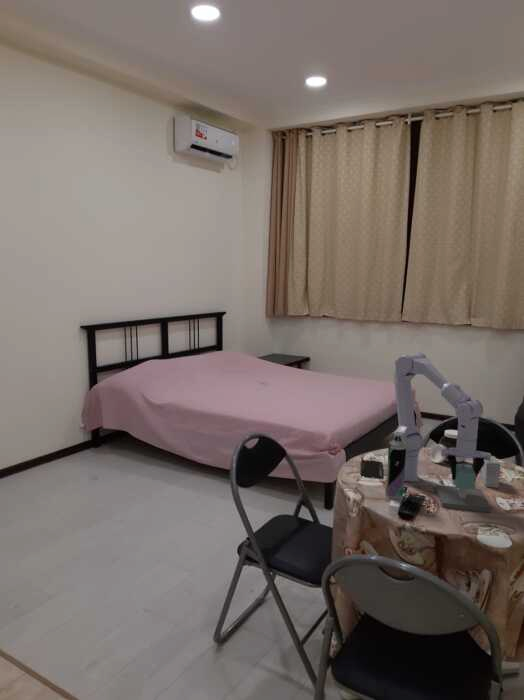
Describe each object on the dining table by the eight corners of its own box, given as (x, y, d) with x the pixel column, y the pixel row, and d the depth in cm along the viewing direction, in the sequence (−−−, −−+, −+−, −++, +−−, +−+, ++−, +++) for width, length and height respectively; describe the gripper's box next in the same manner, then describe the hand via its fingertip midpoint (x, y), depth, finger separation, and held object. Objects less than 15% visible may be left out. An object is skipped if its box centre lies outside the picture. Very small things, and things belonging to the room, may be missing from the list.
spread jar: (468, 462, 195) (471, 433, 193) (457, 470, 186) (460, 439, 185) (438, 454, 203) (440, 426, 201) (426, 461, 194) (428, 432, 193)
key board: (441, 507, 155) (443, 491, 155) (435, 488, 169) (436, 474, 168) (490, 512, 153) (491, 496, 152) (480, 493, 166) (481, 478, 166)
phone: (382, 461, 191) (382, 476, 176) (381, 464, 191) (382, 479, 177) (360, 459, 193) (359, 474, 178) (360, 462, 193) (359, 477, 178)
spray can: (393, 500, 159) (397, 439, 156) (381, 493, 164) (385, 434, 161) (406, 497, 162) (410, 437, 159) (394, 491, 167) (398, 432, 164)
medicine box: (498, 488, 171) (501, 463, 170) (484, 487, 172) (487, 462, 170) (493, 479, 178) (495, 455, 177) (479, 478, 179) (481, 454, 178)
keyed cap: (456, 487, 157) (457, 471, 156) (452, 478, 164) (453, 462, 164) (474, 489, 156) (476, 473, 155) (469, 479, 163) (470, 464, 163)
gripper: (444, 440, 155) (441, 482, 157) (494, 444, 153) (490, 486, 155) (441, 433, 162) (438, 473, 164) (489, 437, 159) (485, 478, 161)
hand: (463, 479), depth 160 cm, fingers closed on keyed cap, 5 cm apart
